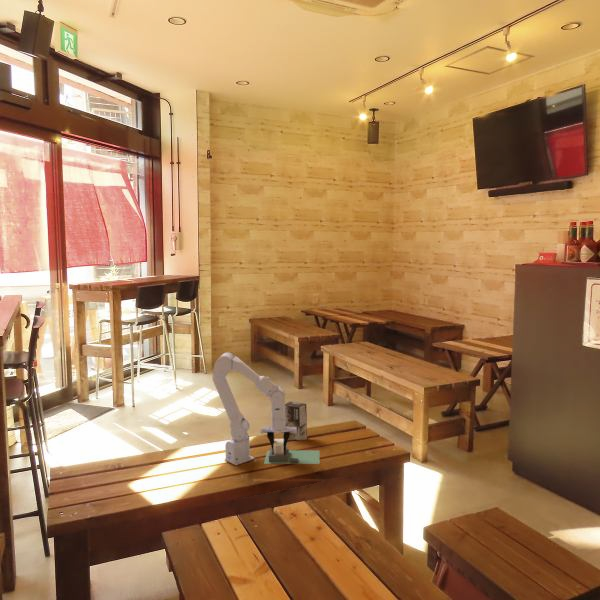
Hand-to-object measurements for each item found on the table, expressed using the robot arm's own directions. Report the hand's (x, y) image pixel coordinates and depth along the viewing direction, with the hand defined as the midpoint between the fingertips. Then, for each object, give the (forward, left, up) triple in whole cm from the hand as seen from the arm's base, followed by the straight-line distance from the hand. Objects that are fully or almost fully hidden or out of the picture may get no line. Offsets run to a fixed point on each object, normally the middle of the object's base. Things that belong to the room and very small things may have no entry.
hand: (278, 450), depth 202 cm
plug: (0, 0, -1) cm, 1 cm away
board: (+4, -4, -4) cm, 7 cm away
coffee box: (+21, +13, -4) cm, 25 cm away
